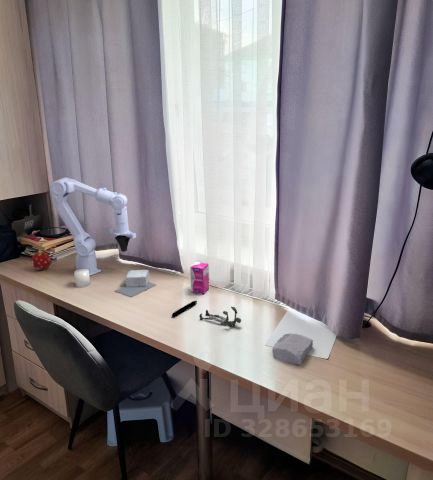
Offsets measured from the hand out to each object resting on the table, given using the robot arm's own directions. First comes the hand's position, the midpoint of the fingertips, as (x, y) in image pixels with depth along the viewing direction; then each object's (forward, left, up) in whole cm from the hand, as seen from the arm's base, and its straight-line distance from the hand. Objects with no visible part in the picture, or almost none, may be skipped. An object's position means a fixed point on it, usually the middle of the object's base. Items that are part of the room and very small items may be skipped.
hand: (124, 251), depth 179 cm
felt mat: (+17, -9, -10) cm, 22 cm away
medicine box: (+10, -8, -8) cm, 15 cm away
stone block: (+90, -14, -11) cm, 92 cm away
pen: (+46, -12, -11) cm, 49 cm away
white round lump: (-5, -19, -10) cm, 23 cm away
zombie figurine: (+63, -12, -11) cm, 65 cm away
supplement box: (+41, +4, -11) cm, 42 cm away
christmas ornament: (-36, -19, -11) cm, 43 cm away
